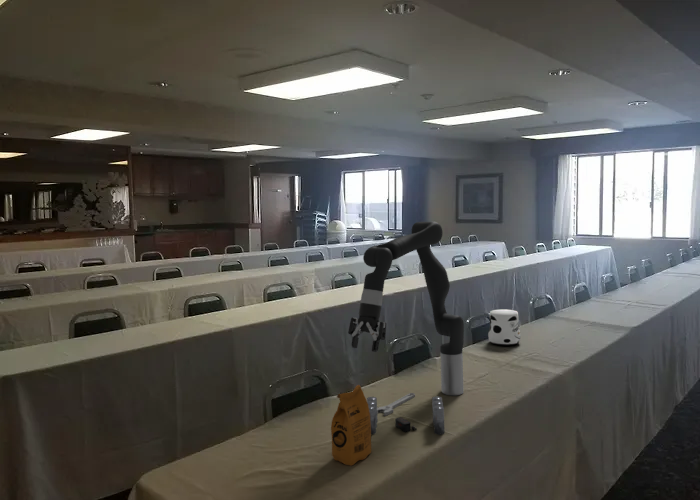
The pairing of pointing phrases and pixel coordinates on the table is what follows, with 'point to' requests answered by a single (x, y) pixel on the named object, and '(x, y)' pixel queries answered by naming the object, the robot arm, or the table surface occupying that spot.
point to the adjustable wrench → (395, 404)
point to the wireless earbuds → (403, 424)
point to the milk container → (504, 327)
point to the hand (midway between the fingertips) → (364, 349)
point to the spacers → (437, 414)
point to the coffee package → (351, 428)
